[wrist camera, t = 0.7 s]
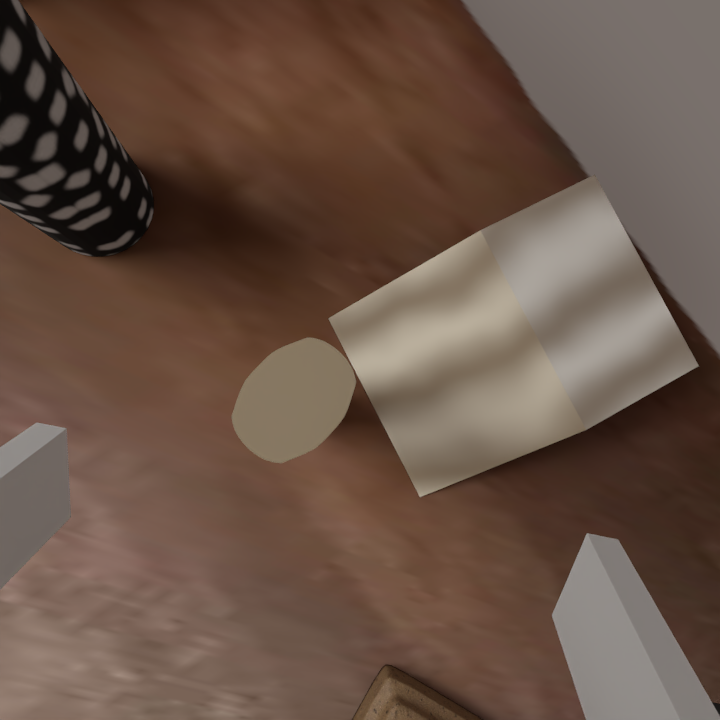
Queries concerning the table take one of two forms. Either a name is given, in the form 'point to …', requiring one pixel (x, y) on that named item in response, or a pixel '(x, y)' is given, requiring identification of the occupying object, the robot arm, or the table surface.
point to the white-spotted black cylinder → (62, 150)
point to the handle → (293, 400)
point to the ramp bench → (513, 339)
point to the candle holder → (406, 700)
